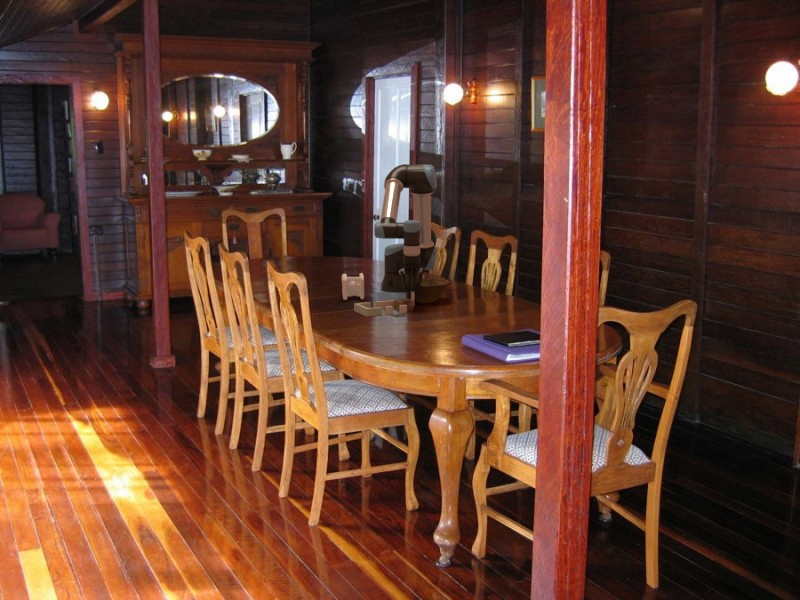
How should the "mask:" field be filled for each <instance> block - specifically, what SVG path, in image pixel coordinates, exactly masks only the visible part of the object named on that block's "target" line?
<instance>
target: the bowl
mask: <svg viewBox="0 0 800 600" xmlns="http://www.w3.org/2000/svg"><path fill="white" fill-rule="evenodd" d="M406 283H407V280H406ZM449 284H450V281H449V280H447V279H444V278H436V277H432V278H426V277H425V278H422V282H421V287H420V290H417V292H416V298H414V301H416V302H417V303H421V304H431V303H436V301H438V300H439V298H440V297H441V296H442V294H443V293H444V292H445V291H446V290H447V288H448V286H449Z"/></svg>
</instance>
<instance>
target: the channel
mask: <svg viewBox="0 0 800 600" xmlns="http://www.w3.org/2000/svg"><path fill="white" fill-rule="evenodd" d="M394 300H395V299H391V300H381V301H380V300H379V301H378V300H377V301H373V308H375V307H382V310H384V314H385V315H386V316H387V315H388V316H389V315H390V316H391V315H393V314H394ZM398 312H399V313H398V314H403V313H405V314H408V313H407V312H408V311H407V305H399V311H398Z"/></svg>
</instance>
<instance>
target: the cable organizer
mask: <svg viewBox="0 0 800 600" xmlns="http://www.w3.org/2000/svg"><path fill="white" fill-rule="evenodd" d="M364 277H365V276H364V273H363V272H361V273H360V272H359V276H348V275H347V274H346V273H342V274H341V286H342V288H341V289H342V290H341V291H342V292H341V293H342V299H343V300H344V301H347V300H348V297H353V296H354V297H355V296H356V297H360V300H361V301H363V300H364V299H365V278H364Z"/></svg>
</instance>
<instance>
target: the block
mask: <svg viewBox="0 0 800 600" xmlns="http://www.w3.org/2000/svg"><path fill="white" fill-rule="evenodd" d="M393 300H394V308H393V311H394V310H395V311H396V312H399V305H407V312H412V311H413V312H414V306H413V301H412V300H410V299H408V298H402V299H401V298H400V299H393Z"/></svg>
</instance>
